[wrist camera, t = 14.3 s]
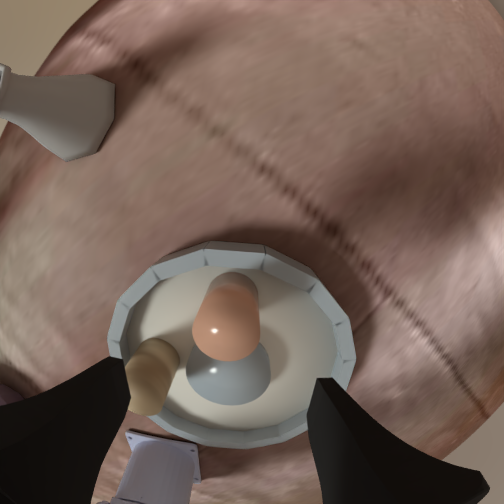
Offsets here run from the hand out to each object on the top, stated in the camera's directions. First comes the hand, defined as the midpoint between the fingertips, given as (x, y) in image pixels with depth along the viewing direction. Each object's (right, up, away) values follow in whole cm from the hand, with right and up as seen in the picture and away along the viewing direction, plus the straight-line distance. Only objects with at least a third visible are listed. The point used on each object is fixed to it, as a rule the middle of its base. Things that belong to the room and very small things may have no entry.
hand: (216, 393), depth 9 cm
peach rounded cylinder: (0, +2, +9) cm, 9 cm away
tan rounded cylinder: (-6, -3, +10) cm, 12 cm away
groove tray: (0, -3, +11) cm, 12 cm away
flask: (-12, +16, +7) cm, 21 cm away
